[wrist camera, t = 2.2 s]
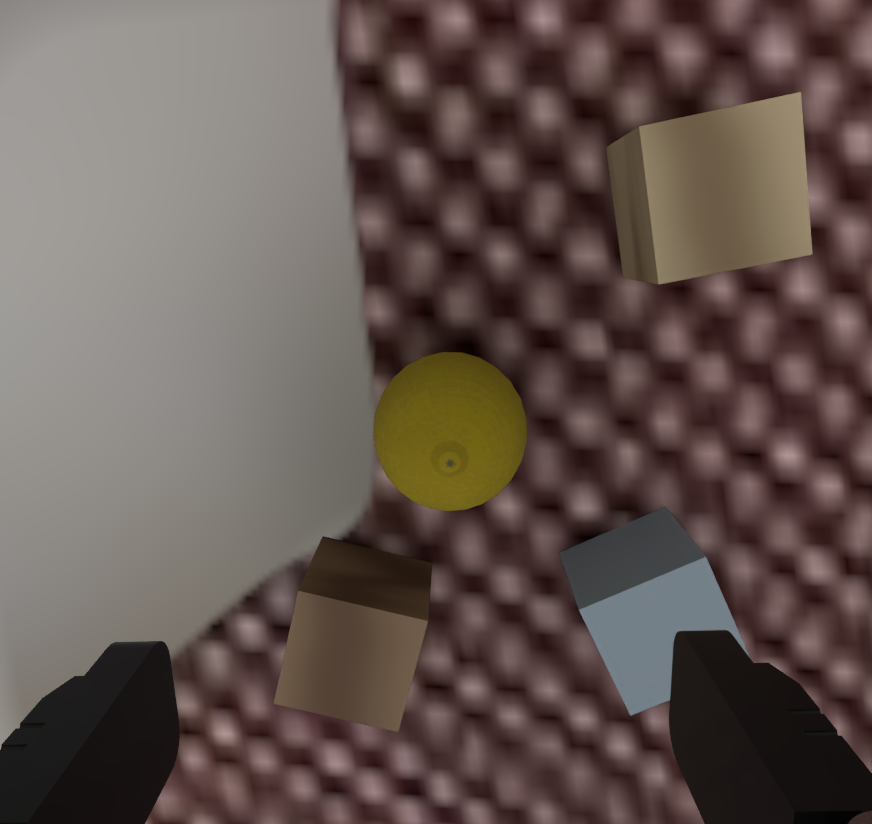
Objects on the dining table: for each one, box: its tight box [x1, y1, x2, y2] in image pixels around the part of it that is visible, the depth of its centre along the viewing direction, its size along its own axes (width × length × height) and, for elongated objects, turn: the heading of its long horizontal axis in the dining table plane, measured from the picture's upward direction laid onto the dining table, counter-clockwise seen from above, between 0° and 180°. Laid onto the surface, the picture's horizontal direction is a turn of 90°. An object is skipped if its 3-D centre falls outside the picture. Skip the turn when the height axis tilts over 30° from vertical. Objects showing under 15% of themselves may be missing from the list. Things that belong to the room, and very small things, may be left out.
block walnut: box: [274, 536, 432, 732], centre depth 29 cm, size 5×5×5 cm
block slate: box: [559, 507, 750, 716], centre depth 28 cm, size 5×5×5 cm
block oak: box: [606, 92, 812, 285], centre depth 25 cm, size 5×5×5 cm
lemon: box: [374, 352, 527, 511], centre depth 25 cm, size 6×6×8 cm
